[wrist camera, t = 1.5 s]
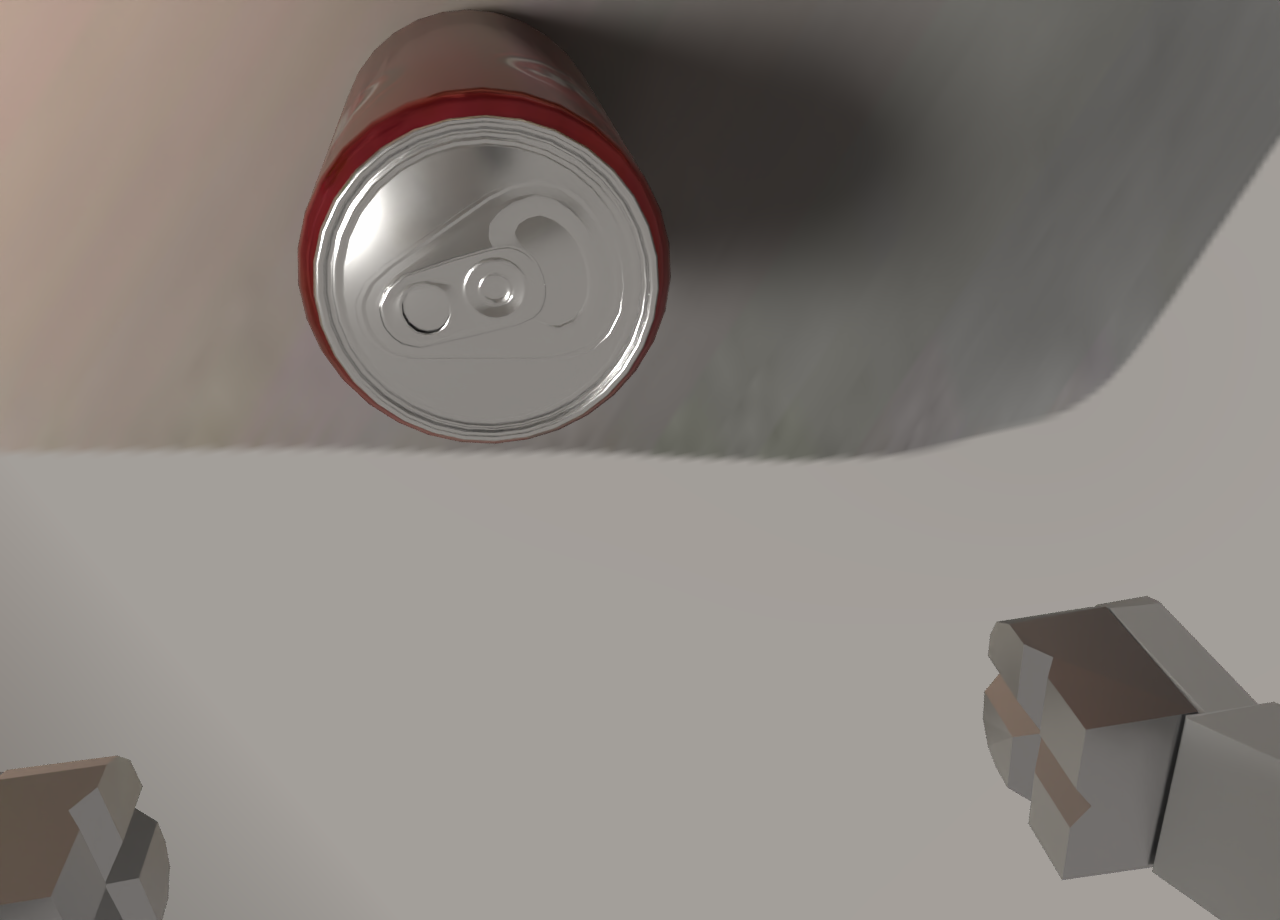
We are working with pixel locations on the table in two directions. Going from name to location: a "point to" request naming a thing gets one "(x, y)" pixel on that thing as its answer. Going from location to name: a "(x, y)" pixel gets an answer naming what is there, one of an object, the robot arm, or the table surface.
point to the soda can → (481, 236)
